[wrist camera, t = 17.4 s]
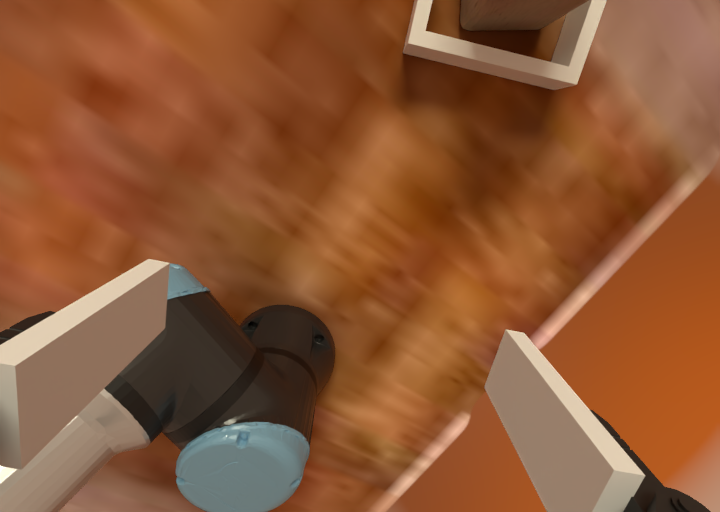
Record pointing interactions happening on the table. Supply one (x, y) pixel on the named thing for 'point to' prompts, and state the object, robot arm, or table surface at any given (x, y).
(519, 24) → the wooden block
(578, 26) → the box
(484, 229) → the table surface
